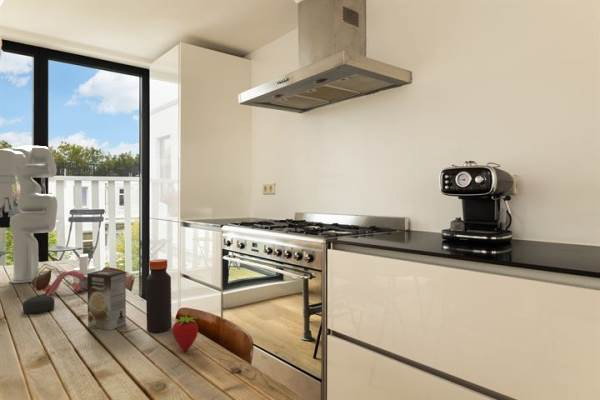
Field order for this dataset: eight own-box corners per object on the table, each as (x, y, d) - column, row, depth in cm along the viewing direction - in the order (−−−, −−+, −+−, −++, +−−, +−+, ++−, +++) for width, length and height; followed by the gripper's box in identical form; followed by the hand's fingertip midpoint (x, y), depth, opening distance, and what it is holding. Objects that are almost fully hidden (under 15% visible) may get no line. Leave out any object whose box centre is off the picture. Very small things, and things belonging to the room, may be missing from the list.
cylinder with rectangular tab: (74, 280, 178) (73, 254, 178) (96, 278, 182) (95, 253, 182) (72, 284, 170) (71, 257, 170) (94, 281, 174) (94, 255, 174)
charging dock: (79, 286, 166) (79, 273, 166) (84, 285, 167) (84, 273, 167) (91, 291, 155) (91, 278, 155) (96, 291, 157) (96, 277, 157)
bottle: (148, 335, 106) (147, 263, 106) (145, 327, 112) (144, 259, 112) (173, 330, 109) (172, 261, 109) (169, 323, 115) (168, 257, 115)
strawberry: (190, 343, 99) (189, 305, 99) (203, 352, 94) (203, 312, 93) (168, 349, 95) (167, 310, 95) (180, 359, 90) (179, 317, 90)
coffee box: (86, 327, 113) (85, 273, 113) (103, 320, 119) (103, 269, 119) (110, 330, 110) (109, 275, 110) (127, 323, 116) (126, 270, 116)
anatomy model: (93, 282, 157) (60, 254, 150) (61, 312, 150) (25, 284, 143) (89, 277, 166) (58, 251, 159) (58, 305, 159) (25, 279, 153)
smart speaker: (57, 310, 131) (57, 298, 131) (26, 316, 124) (26, 304, 124) (50, 305, 137) (50, 294, 137) (20, 311, 130) (20, 299, 130)
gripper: (-12, 181, 152) (-11, 227, 152) (-5, 180, 142) (-5, 229, 142) (11, 181, 158) (12, 226, 158) (19, 180, 147) (20, 227, 148)
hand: (4, 227), depth 150 cm, fingers closed
